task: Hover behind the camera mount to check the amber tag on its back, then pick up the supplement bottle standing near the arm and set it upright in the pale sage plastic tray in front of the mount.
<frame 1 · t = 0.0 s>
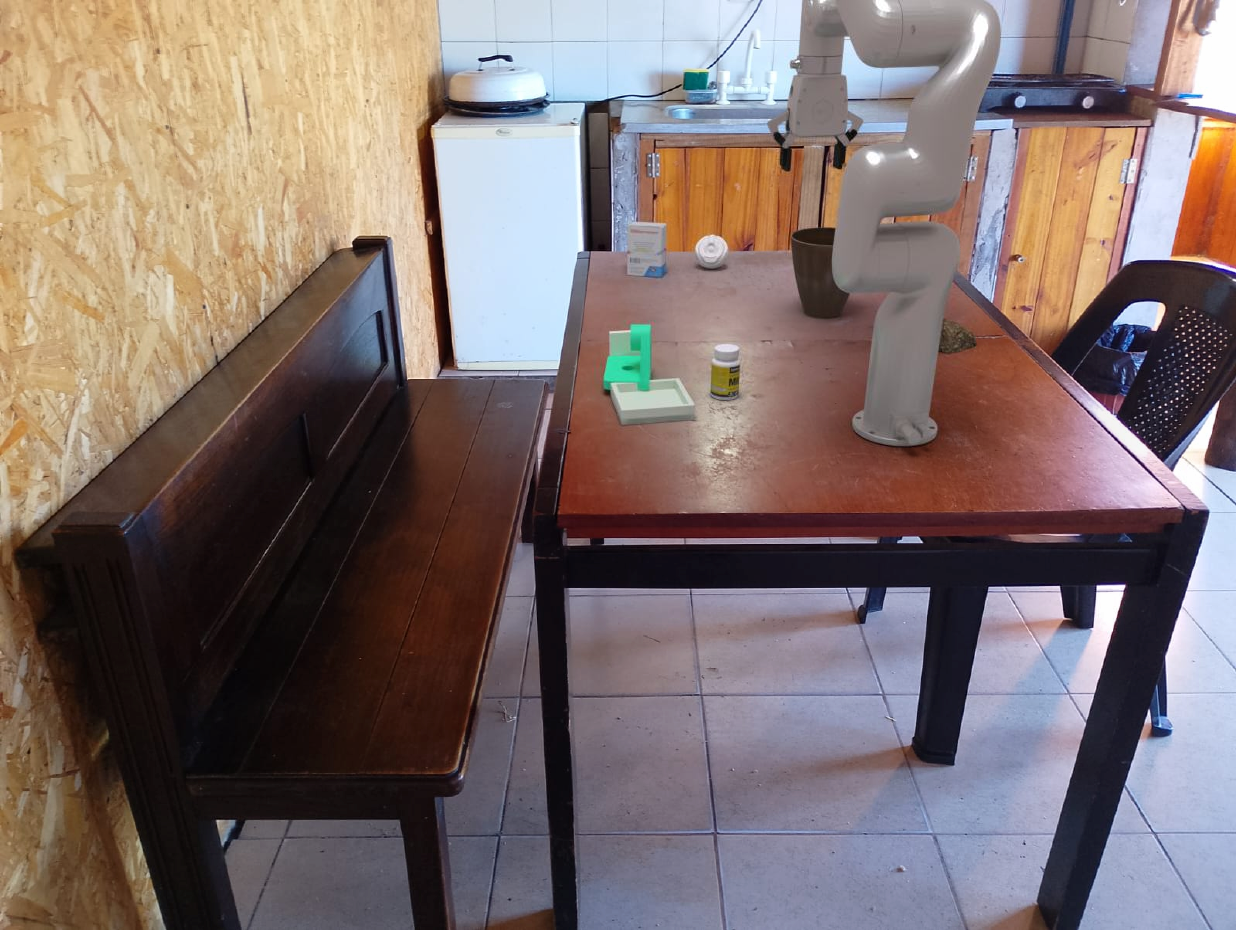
hand: (811, 169, 174), 31 cm above the table, tool pointing down, fingers open, 9 cm apart
camera mount: (628, 383, 167), on the table, touching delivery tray, rear label tag
plant pot: (821, 314, 200), on the table
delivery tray: (651, 408, 157), on the table
ink box: (646, 274, 228), on the table
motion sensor: (711, 268, 232), on the table
supplement bottle: (724, 396, 161), on the table
rock: (935, 344, 184), on the table
rear label tag: (626, 368, 173), on the table
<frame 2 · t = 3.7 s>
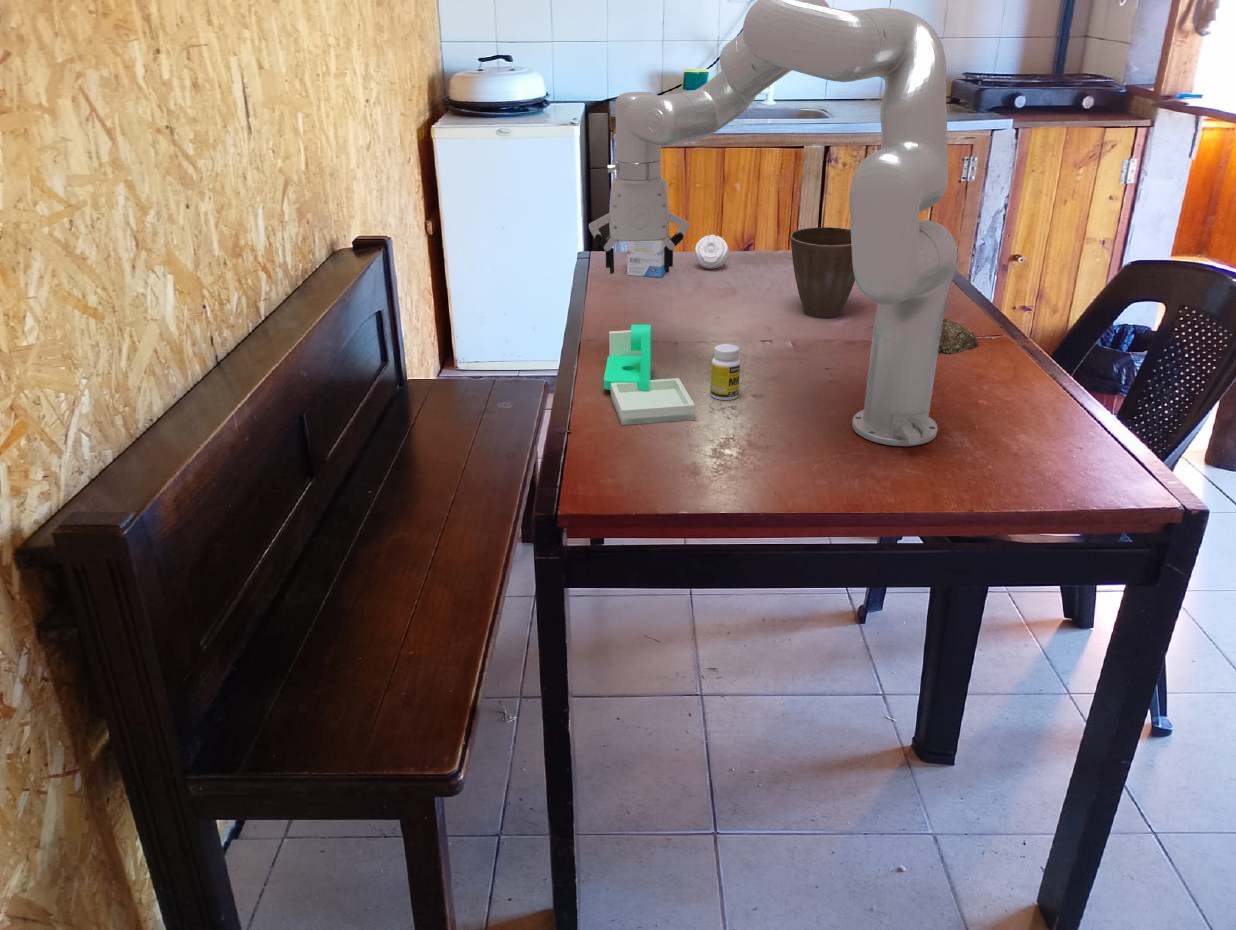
hand: (639, 271, 170), 16 cm above the table, tool pointing down, fingers open, 9 cm apart
nothing on the table moved.
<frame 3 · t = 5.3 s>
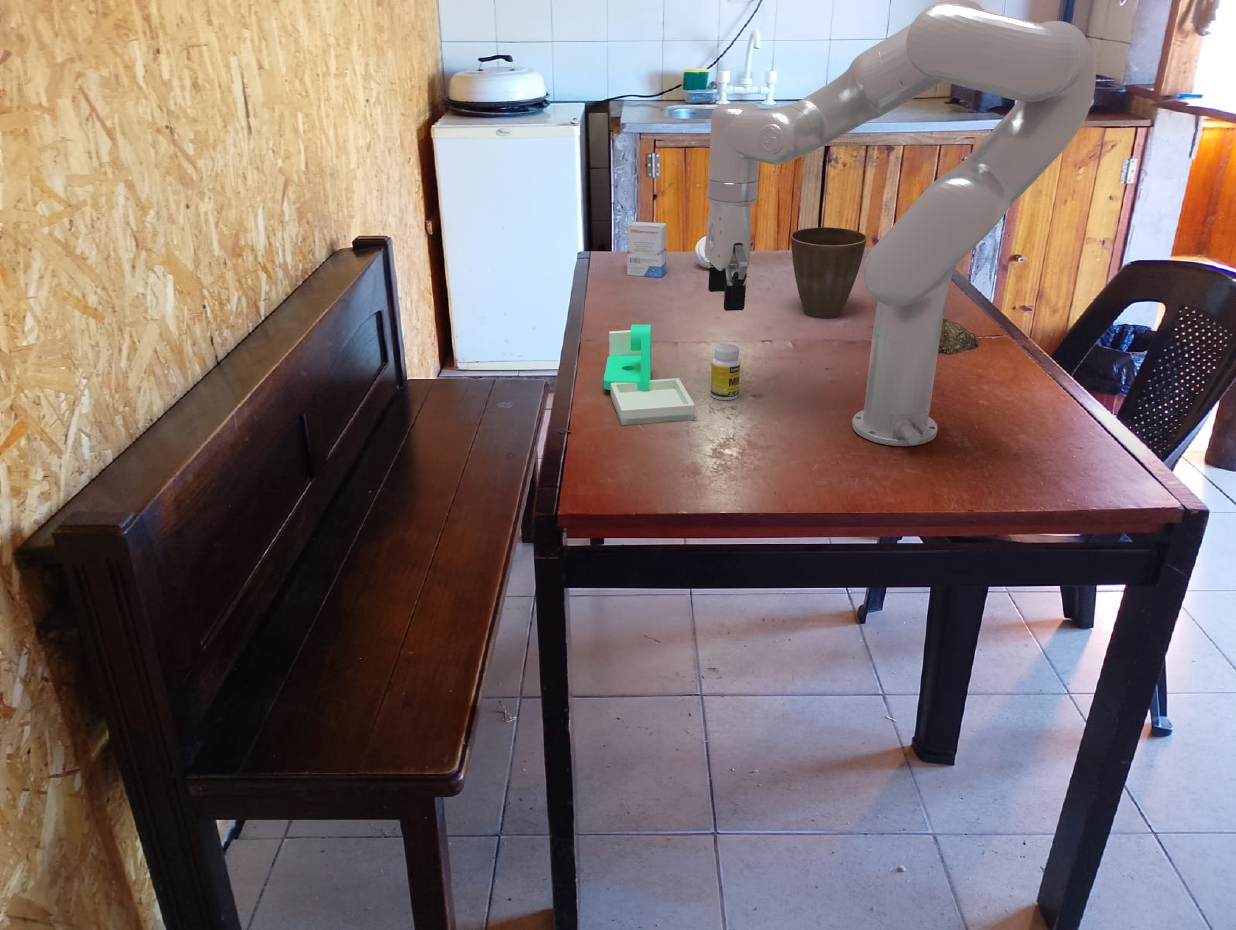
hand: (725, 300, 154), 16 cm above the table, tool pointing down, fingers open, 9 cm apart
nothing on the table moved.
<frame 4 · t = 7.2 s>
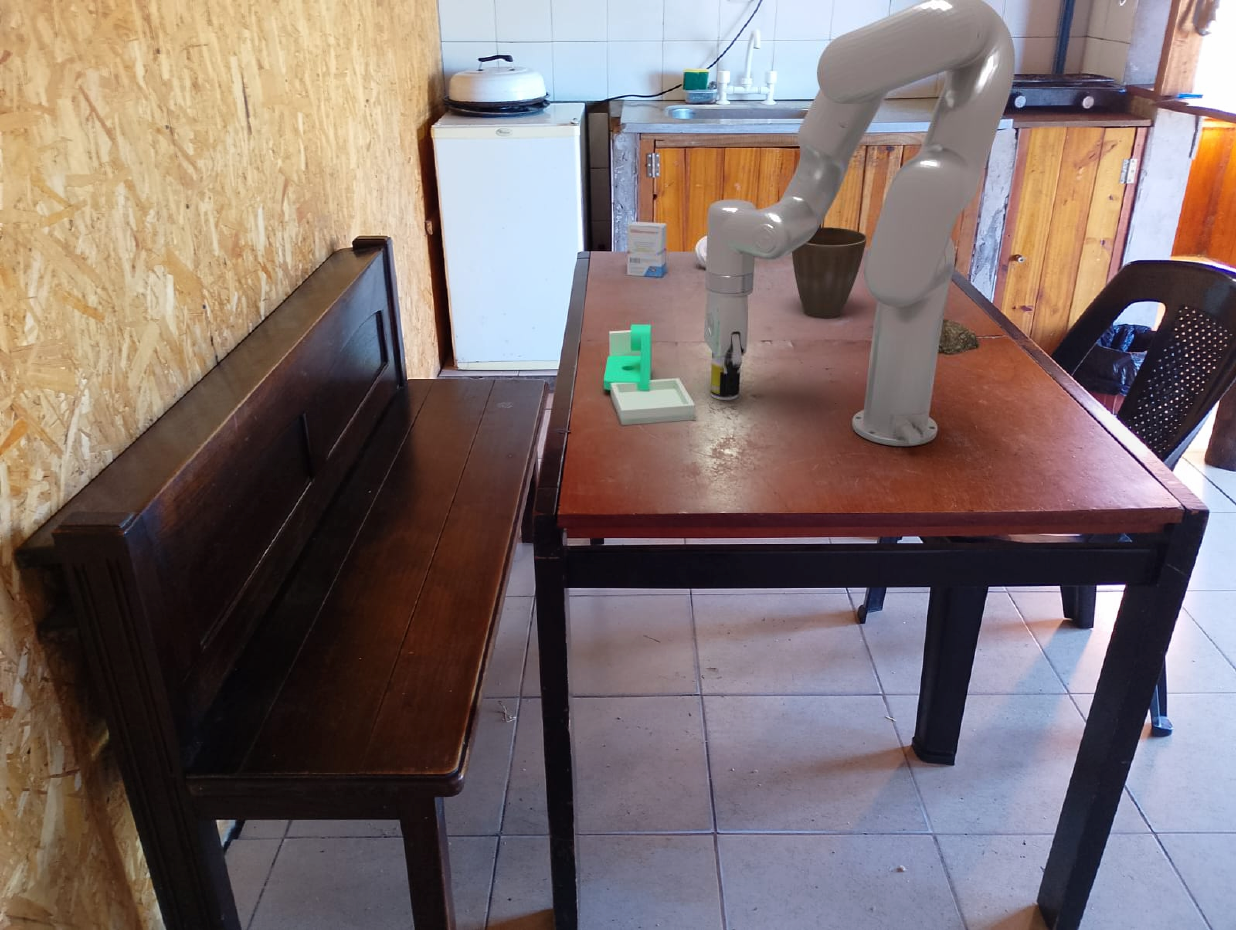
hand: (724, 387, 161), 1 cm above the table, tool pointing down, fingers closed on supplement bottle, 4 cm apart
supplement bottle: (724, 396, 161), on the table, touching gripper
everything else where it was.
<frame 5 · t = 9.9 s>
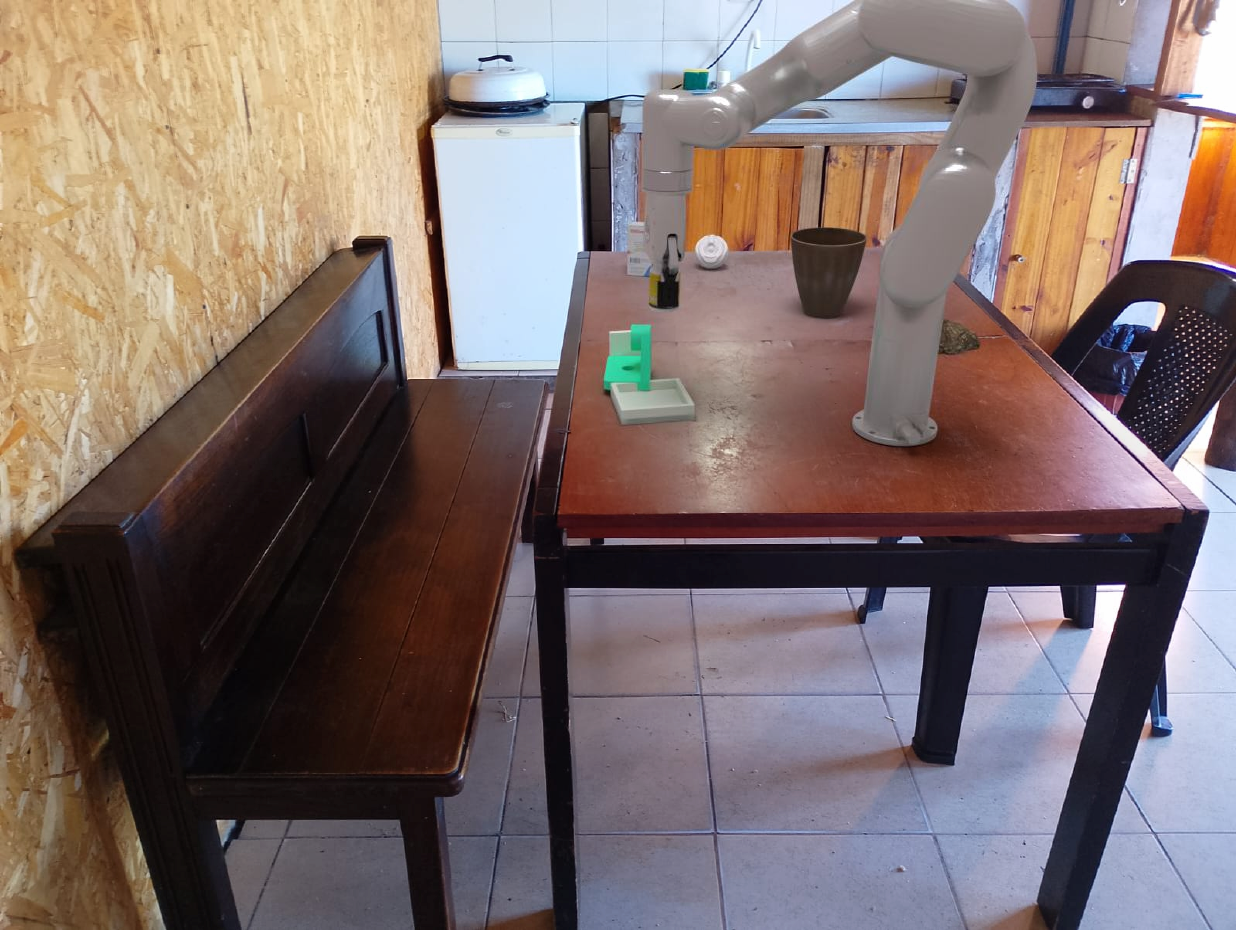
hand: (664, 299, 150), 18 cm above the table, tool pointing down, fingers closed on supplement bottle, 4 cm apart
supplement bottle: (664, 309, 150), point 16 cm above the table, touching gripper
everything else where it was.
when the fingers open (4 cm above the table, at t = 12.9 s): supplement bottle drops 2 cm, resting on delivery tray.
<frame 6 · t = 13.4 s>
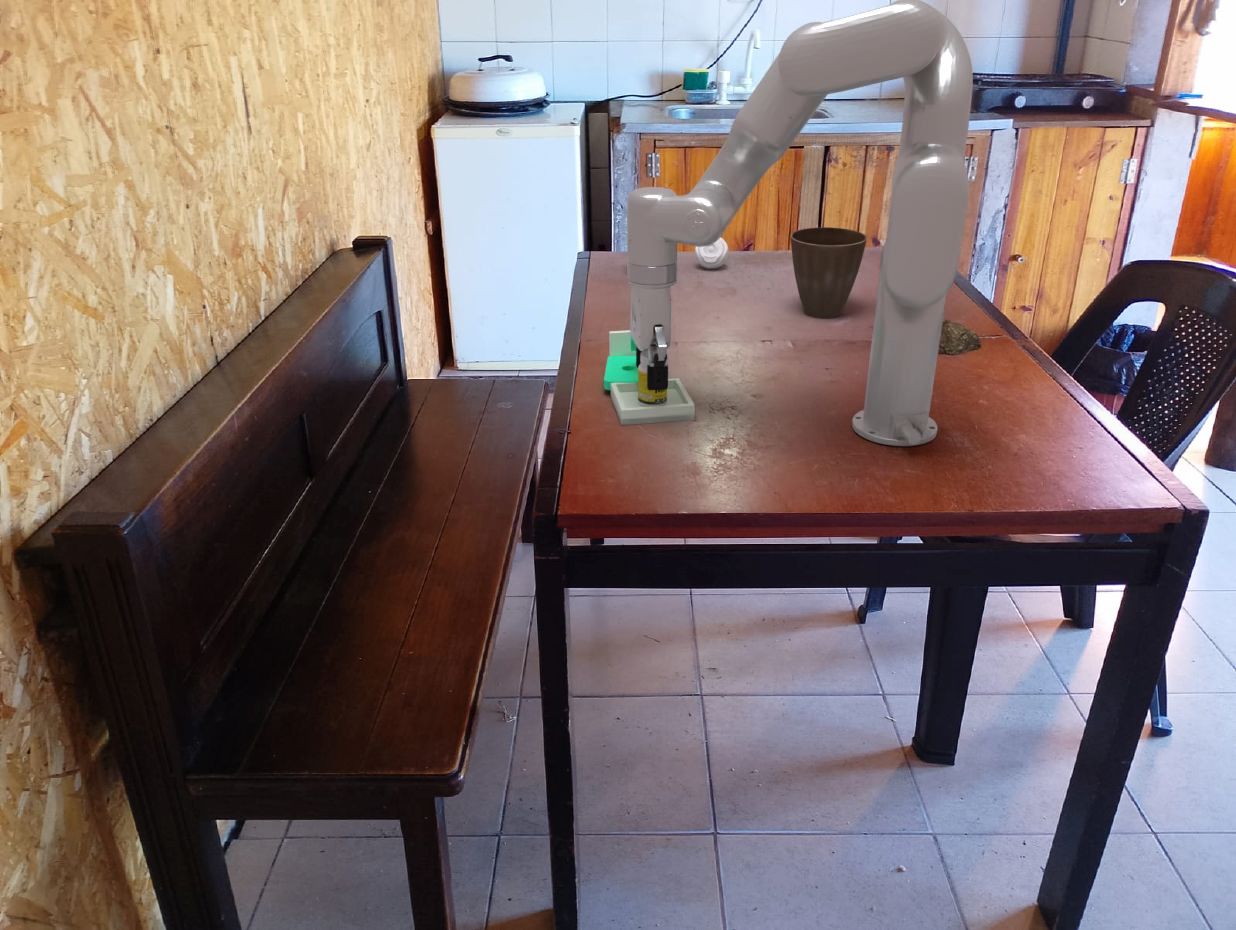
hand: (651, 377, 154), 5 cm above the table, tool pointing down, fingers open, 9 cm apart
supplement bottle: (652, 403, 156), point 1 cm above the table, touching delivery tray
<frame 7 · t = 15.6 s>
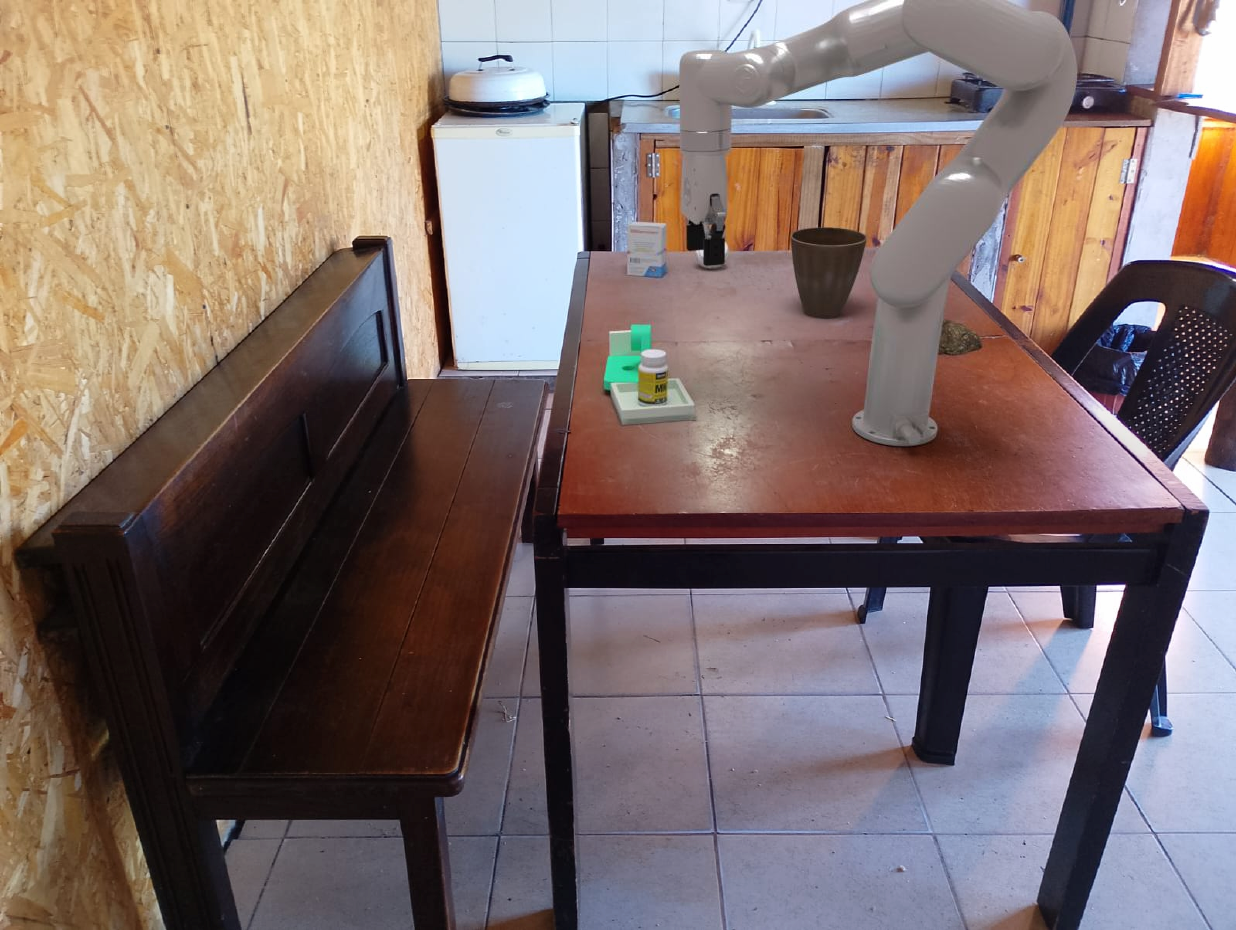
hand: (705, 257, 150), 24 cm above the table, tool pointing down, fingers open, 9 cm apart
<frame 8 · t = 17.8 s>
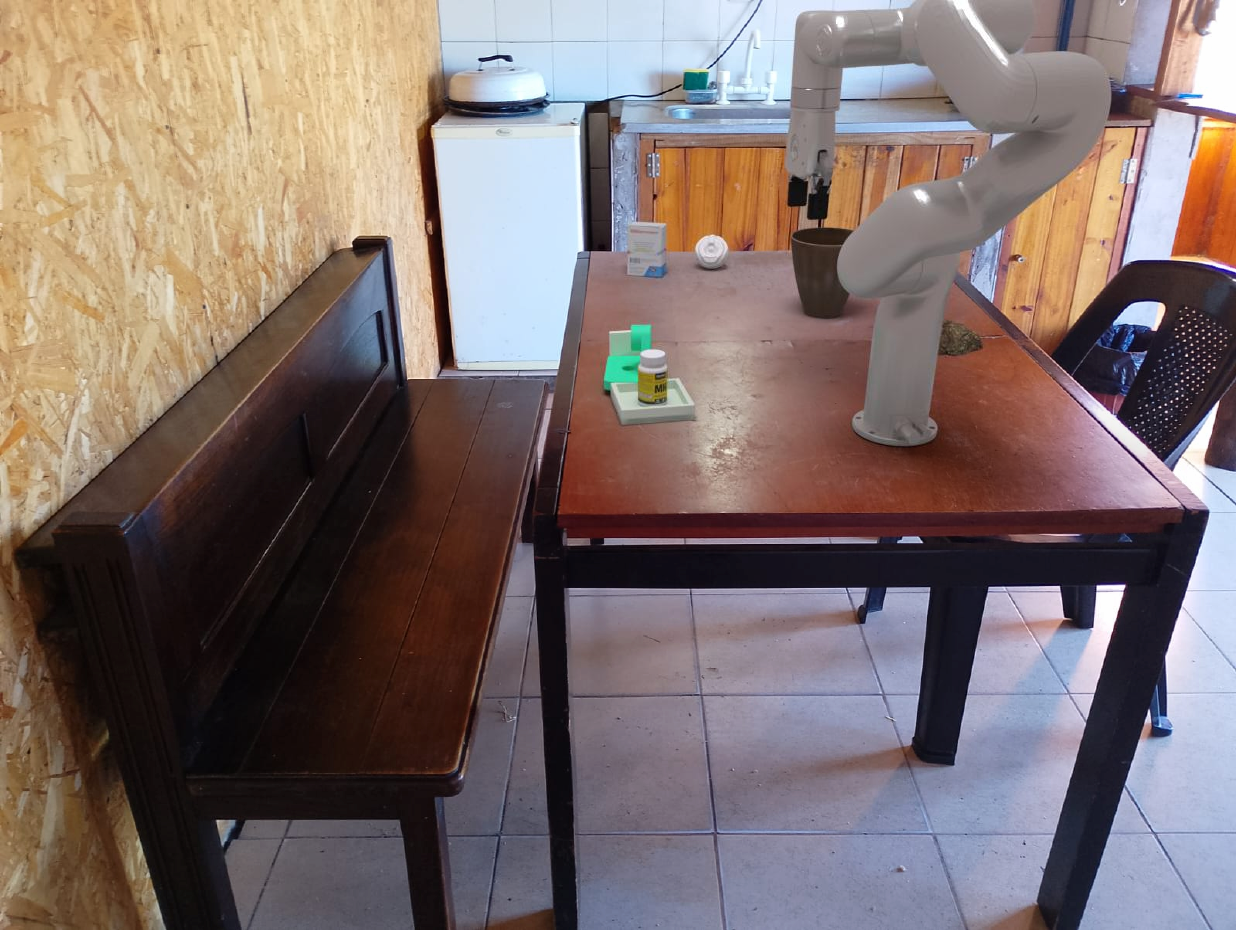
hand: (806, 212, 156), 28 cm above the table, tool pointing down, fingers open, 9 cm apart
at the end: supplement bottle inside the target area on the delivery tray (0.2 cm from its centre), point 0.8 cm above the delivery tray's base; supplement bottle tilted 0°; the gripper is holding nothing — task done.
